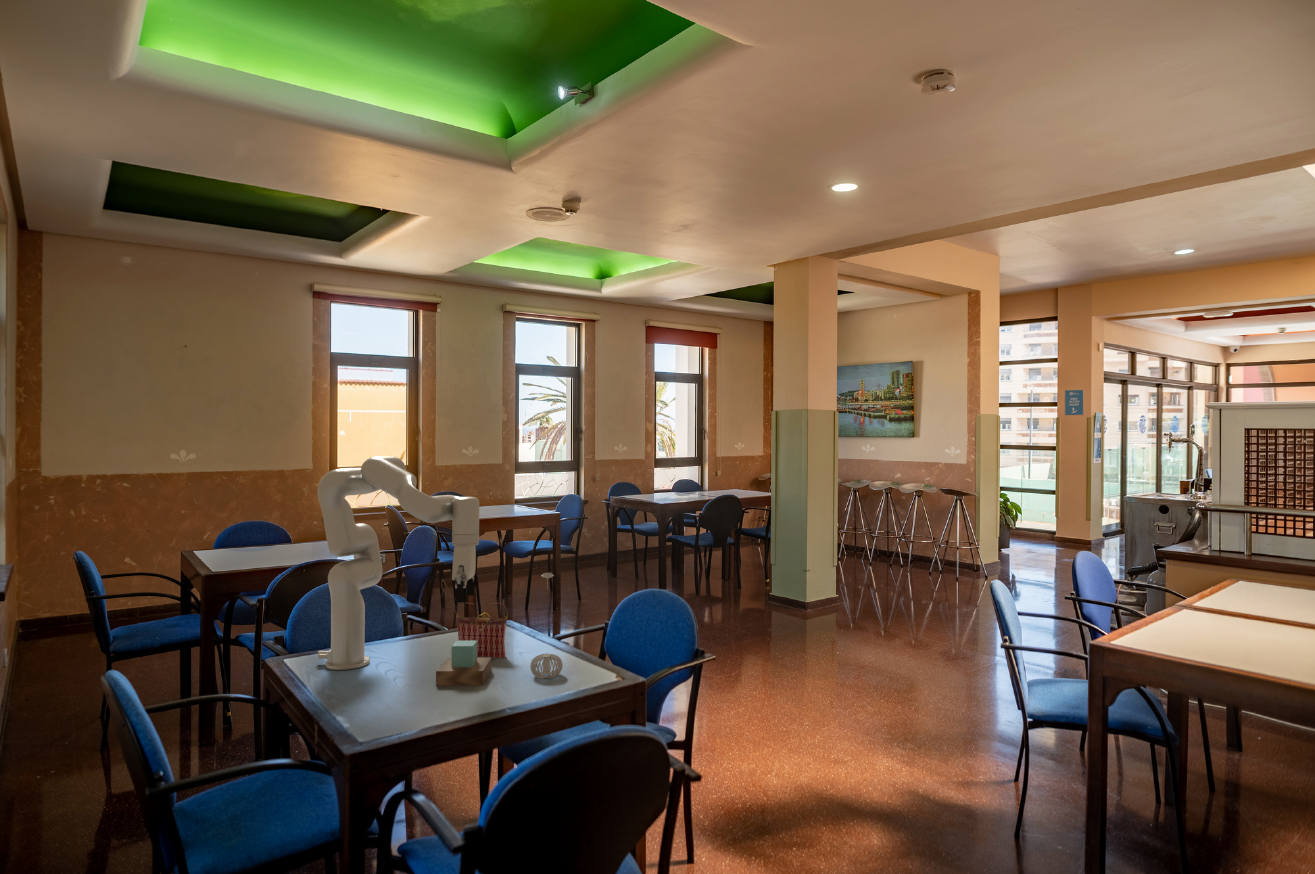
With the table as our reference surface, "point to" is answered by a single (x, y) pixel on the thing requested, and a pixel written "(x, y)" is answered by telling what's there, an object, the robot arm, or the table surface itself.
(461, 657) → the teal block
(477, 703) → the table surface
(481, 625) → the handbag
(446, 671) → the walnut plinth
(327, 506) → the robot arm
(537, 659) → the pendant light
